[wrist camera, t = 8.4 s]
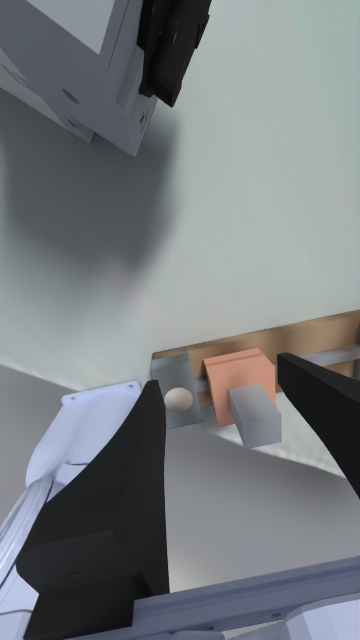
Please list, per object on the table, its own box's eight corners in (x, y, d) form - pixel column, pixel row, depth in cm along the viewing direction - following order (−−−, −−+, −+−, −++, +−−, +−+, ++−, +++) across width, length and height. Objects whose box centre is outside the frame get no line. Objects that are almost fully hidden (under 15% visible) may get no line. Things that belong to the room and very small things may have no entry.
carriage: (211, 401, 23) (229, 464, 16) (203, 359, 21) (220, 411, 14) (260, 391, 23) (299, 450, 16) (257, 347, 21) (301, 395, 14)
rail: (167, 405, 25) (168, 431, 22) (152, 353, 22) (150, 373, 19) (373, 363, 25) (407, 382, 21) (384, 304, 22) (426, 315, 19)
